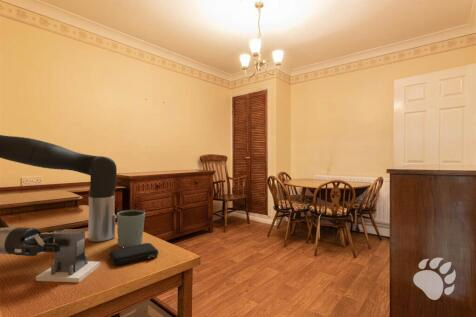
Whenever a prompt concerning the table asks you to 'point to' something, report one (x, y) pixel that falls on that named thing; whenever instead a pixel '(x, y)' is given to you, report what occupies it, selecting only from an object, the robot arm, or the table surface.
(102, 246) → the table surface
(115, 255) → the carrying case or bag
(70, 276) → the white peg board
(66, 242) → the block
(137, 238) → the green cup
